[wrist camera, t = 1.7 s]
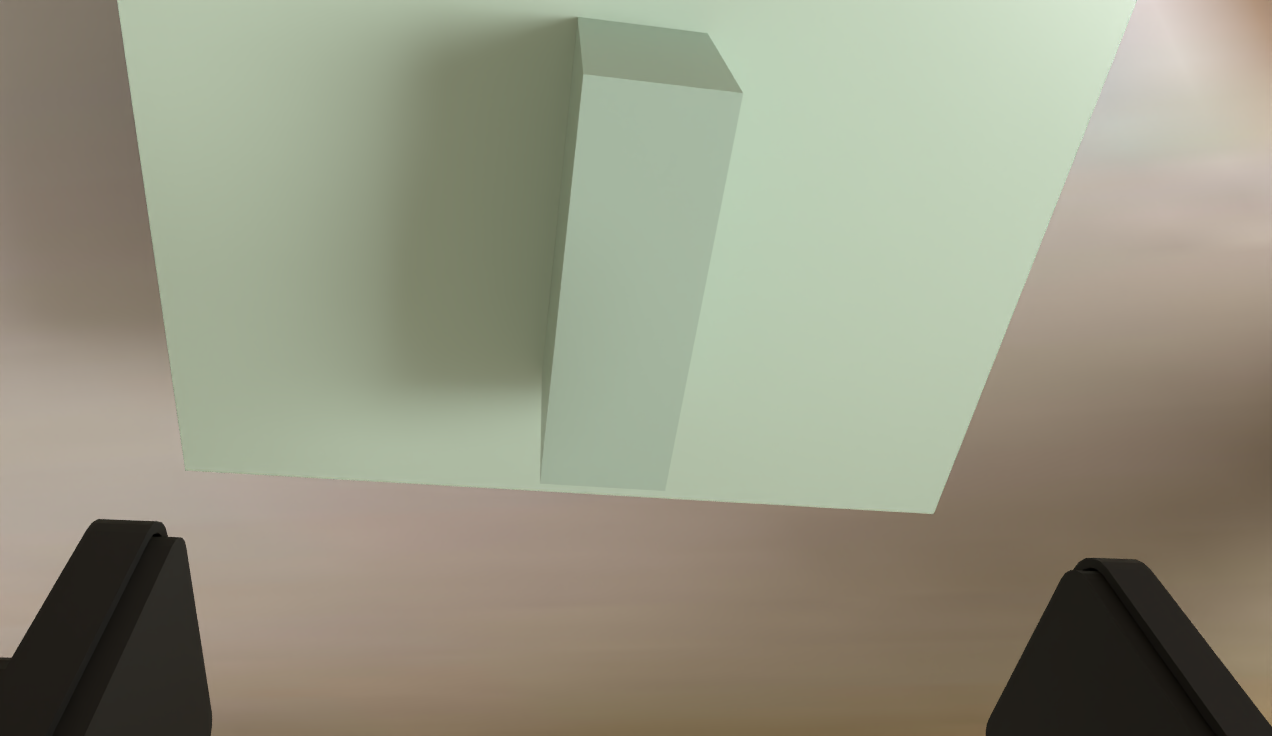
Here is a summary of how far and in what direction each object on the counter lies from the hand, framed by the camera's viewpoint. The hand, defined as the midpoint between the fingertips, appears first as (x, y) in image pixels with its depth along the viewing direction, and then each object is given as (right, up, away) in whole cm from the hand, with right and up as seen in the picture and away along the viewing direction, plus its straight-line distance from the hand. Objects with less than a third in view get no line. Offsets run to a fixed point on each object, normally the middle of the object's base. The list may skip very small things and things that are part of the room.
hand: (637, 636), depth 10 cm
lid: (-1, +7, +12) cm, 14 cm away
